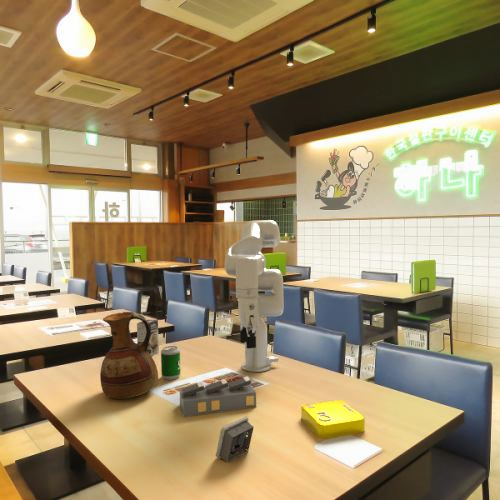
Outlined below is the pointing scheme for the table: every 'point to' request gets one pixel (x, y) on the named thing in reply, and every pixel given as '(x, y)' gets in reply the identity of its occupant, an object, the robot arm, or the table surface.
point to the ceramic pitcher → (127, 360)
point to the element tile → (332, 419)
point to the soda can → (170, 362)
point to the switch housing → (217, 400)
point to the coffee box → (153, 341)
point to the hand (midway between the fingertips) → (248, 344)
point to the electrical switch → (234, 439)
